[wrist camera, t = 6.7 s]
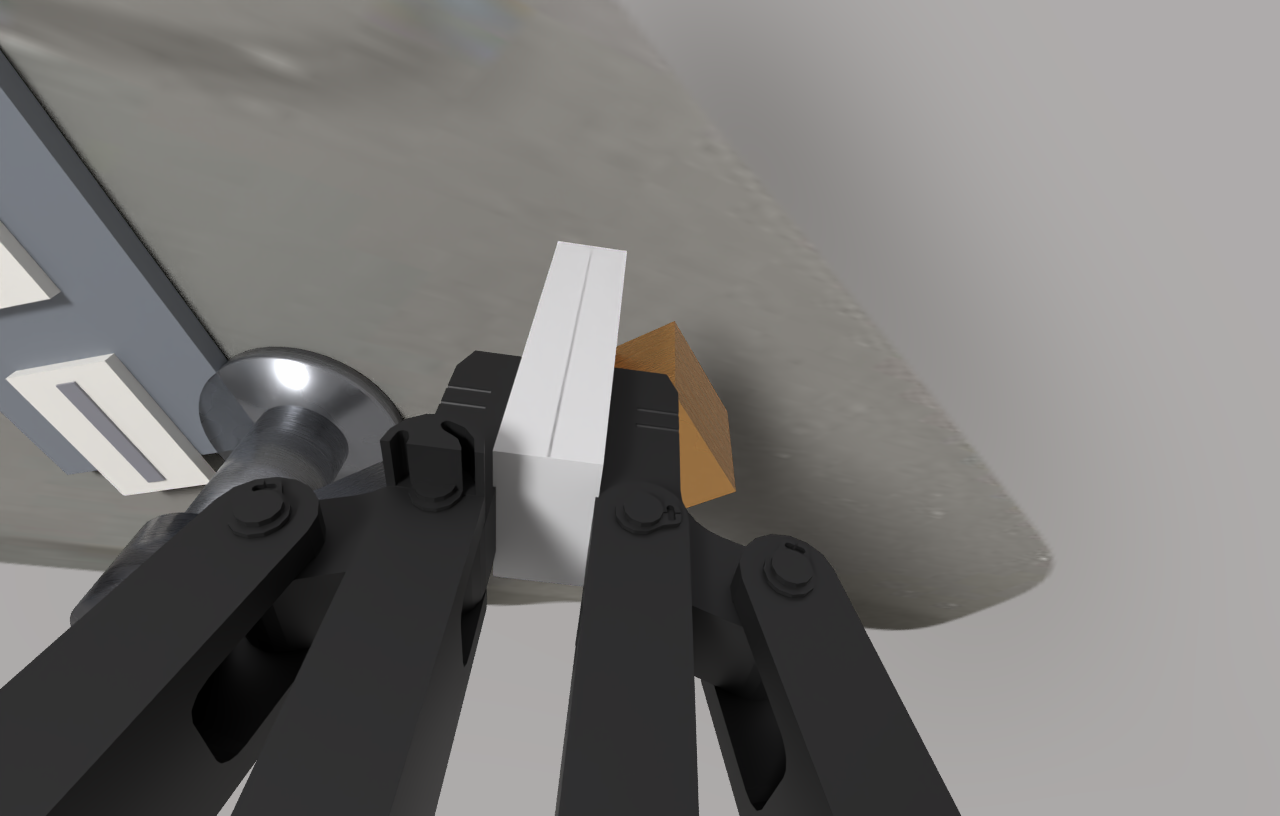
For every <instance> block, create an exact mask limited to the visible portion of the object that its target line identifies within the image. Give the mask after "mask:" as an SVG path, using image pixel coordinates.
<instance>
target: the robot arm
mask: <svg viewBox="0 0 1280 816" xmlns="http://www.w3.org/2000/svg"><path fill="white" fill-rule="evenodd" d="M626 255H627V251H623V250H616V249H609V248H602V247H595V246H589V245H582V244H575V243H568V242H561V241H558V243H557V247H556V250H555V253H554V256H553V259H552V263H551V266H550V269H549V272H548V275H547V279H546V282H545V285H544V288H543V291H542V295H541V298H540V301H539V304H538V307H537V311H536V314H535V317H534V320H533V323H532V327H531V330H530V333H529V336H528V339H527V343H526V346H525V349H524V352H523V355H522V357H520V356H512V355H505V354H497V353H490V352H482V351H474V352H473V353H472V354H471V355H469V356H468V357H467V358H466V359H464V360H463V361H462V362H460V363H459V364H458V365H457V366H456V368H455V370H454V373H453V375H452V377H451V379H450V382H449V384H448V388H446V391H445V393H444V395H443V397H442V400H441V404H439V406H438V409H437V411H436V413H435V414H424V415H420V416H416V417H412V418H408V419H405V420H404V421H402V422H400V423H398V424H396V425H395V426H393V427H391V428H390V429H389V430H388V431H387V432H386V433H385V435H384V436H383V437H382V438H381V439H380V446H381V452H382V459H383V466H384V472H385V479H386V487H383V488H381V489H378V490H376V491H373V492H369V493H364V494H360V495H354V496H346V497H338V498H330V499H322V500H319V499H318V498H317V496H316V495H315V493H314V491H313V490H312V488H311V487H309V486H307V485H306V484H304V483H302V482H300V481H298V480H295V479H289V478H282V477H271V478H263V479H255V480H252V481H249V482H247V483H244V484H241V485H238V486H235V487H233V488H232V489H230V490H229V491H227V492H226V493H224V494H223V495H221V496H220V497H218V498H217V499H215V500H214V501H213V502H212V503H211V504H209V505H208V506H207V507H206V508H205V509H204V510H203V511H201V512H200V513H199V514H198V515H197V516H196V517H195V518H194V519H192V520H191V521H190V522H189V523H188V524H187V525H186V526H185V527H183V528H182V529H181V530H180V531H179V532H178V533H177V534H175V535H174V536H173V537H172V538H171V539H170V540H169V541H168V542H166V543H165V544H164V545H163V546H162V547H161V548H160V549H158V550H157V551H156V552H155V553H154V554H153V555H152V556H151V557H149V558H148V559H147V560H146V561H145V562H144V563H143V564H142V565H140V566H139V567H138V568H137V569H136V570H135V571H134V572H132V573H131V574H130V575H129V576H128V577H127V578H126V579H125V580H123V581H122V582H121V583H120V584H119V585H118V586H117V587H115V588H114V589H113V590H112V591H111V592H110V593H109V594H108V595H106V596H105V597H104V598H103V599H102V600H101V601H100V602H99V603H97V604H96V605H95V606H94V607H93V608H92V609H91V610H89V611H88V612H87V613H86V614H85V615H84V616H83V617H82V618H80V619H79V620H78V621H77V622H76V623H75V624H74V625H72V626H71V627H70V628H69V629H68V630H67V631H66V632H65V633H63V634H62V635H61V636H60V637H59V638H58V639H57V640H55V641H54V642H53V643H52V644H51V645H50V646H49V647H48V648H46V649H45V650H44V651H43V652H42V653H41V654H40V655H39V656H37V657H36V658H35V659H34V660H33V661H32V662H31V663H29V664H28V665H27V666H26V667H25V668H24V669H23V670H22V671H20V672H19V673H18V674H17V675H16V676H15V677H14V678H12V679H11V680H10V681H9V682H8V683H7V684H6V685H5V686H3V687H2V688H1V689H0V816H217V814H218V813H219V811H220V810H221V809H222V807H223V806H224V804H225V803H226V802H227V800H228V799H229V798H230V796H231V795H232V793H233V792H234V791H235V789H236V788H237V787H238V785H239V784H240V782H241V781H242V780H243V778H244V777H245V775H246V774H247V773H248V771H249V770H250V769H251V767H252V766H253V765H254V763H255V762H256V763H255V765H254V768H253V770H252V772H251V774H250V776H249V778H248V780H247V783H246V784H245V787H244V789H243V791H242V793H241V795H240V797H239V799H238V801H237V804H236V806H235V808H234V810H233V812H232V814H231V816H435V812H436V808H437V804H438V799H439V796H440V792H441V788H442V784H443V779H444V776H445V772H446V768H447V764H448V760H449V756H450V752H451V748H452V744H453V740H454V736H455V732H456V728H457V724H458V720H459V716H460V712H461V708H462V704H463V700H464V696H465V692H466V688H467V684H468V680H469V676H470V672H471V668H472V664H473V660H474V656H475V652H476V648H477V644H478V640H479V636H480V632H481V628H482V624H483V620H484V616H485V612H486V605H487V584H488V580H489V576H490V572H491V568H492V564H493V576H495V577H503V578H512V579H521V580H530V581H539V582H548V583H557V584H565V585H574V586H583V593H582V602H581V609H580V616H579V623H578V630H577V637H576V644H575V645H576V648H575V656H574V665H573V673H572V680H571V690H570V697H569V705H568V713H567V722H566V730H565V738H564V746H563V754H562V762H561V770H560V778H559V786H558V795H557V803H556V811H555V816H699V806H698V805H699V804H698V775H697V774H698V773H697V746H696V745H697V744H696V715H695V686H694V676H696V677H697V678H700V679H701V682H702V686H703V689H704V693H705V696H706V700H707V703H708V707H709V710H710V714H711V717H712V721H713V724H714V728H715V731H716V734H717V738H718V742H719V745H720V749H721V752H722V756H723V759H724V763H725V766H726V770H727V773H728V777H729V780H730V783H731V787H732V791H733V794H734V797H735V801H736V805H737V808H738V812H739V815H740V816H961V815H960V813H959V811H958V809H957V807H956V805H955V803H954V801H953V799H952V797H951V795H950V793H949V791H948V790H947V787H946V786H945V784H944V782H943V780H942V778H941V776H940V774H939V772H938V771H937V768H936V766H935V764H934V762H933V760H932V758H931V756H930V755H929V753H928V751H927V749H926V747H925V745H924V743H923V741H922V739H921V737H920V735H919V733H918V732H917V729H916V728H915V726H914V724H913V722H912V720H911V718H910V716H909V714H908V712H907V710H906V708H905V706H904V704H903V702H902V701H901V699H900V697H899V695H898V693H897V691H896V689H895V687H894V685H893V683H892V681H891V679H890V677H889V675H888V674H887V672H886V670H885V668H884V666H883V664H882V662H881V660H880V658H879V656H878V654H877V652H876V650H875V648H874V647H873V644H872V642H871V641H870V639H869V637H868V635H867V633H866V631H865V629H864V627H863V625H862V623H861V621H860V619H859V617H858V615H857V614H856V612H855V610H854V608H853V606H852V604H851V602H850V600H849V598H848V596H847V594H846V592H845V590H844V588H843V586H842V585H841V583H840V581H839V579H838V577H837V575H836V573H835V571H834V569H833V568H832V567H831V565H830V564H829V563H828V561H827V560H826V559H825V557H824V556H823V555H822V554H821V553H820V552H818V551H817V550H816V549H814V548H813V547H812V546H810V545H809V544H808V543H806V542H803V541H801V540H798V539H796V538H793V537H791V536H785V535H773V534H770V535H767V536H763V537H759V538H755V539H754V540H753V541H752V542H751V543H749V544H748V545H747V546H746V547H745V546H742V545H740V544H737V543H735V542H732V541H730V540H727V539H725V538H722V537H720V536H718V535H716V534H714V533H712V532H710V531H708V530H707V529H705V528H704V527H703V526H701V525H700V524H699V523H697V522H696V521H695V520H694V518H693V517H692V516H691V515H690V514H689V513H688V511H687V509H686V507H685V505H684V503H683V501H682V496H681V482H680V440H679V416H678V415H679V398H678V392H677V390H676V388H675V387H674V385H673V384H672V382H671V380H670V379H669V377H668V375H667V374H660V373H653V372H645V371H638V370H630V369H623V368H615V367H614V364H615V355H616V346H617V337H618V328H619V319H620V310H621V301H622V292H623V283H624V274H625V265H626ZM256 760H257V761H256Z"/></svg>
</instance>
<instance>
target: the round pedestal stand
mask: <svg viewBox="0 0 1280 816" xmlns="http://www.w3.org/2000/svg"><path fill="white" fill-rule="evenodd" d="M216 373H217V374H218V375H217V374H215V375H214V376H215V377H214V376H212V377H211V378H210V379H209V380H208V381H207V382H206V384H205V385H206V386H208V384H209V386H210V384H211V382H212V383H213V382H216V380H217V383H218V382H220V383H218V384H219V387H221V388H220V390H221V391H222V390H223V389H222V386H221V385H223V387H225V388H224V390H226V391H227V392H226V391H224V390H223V391H224V392H223V391H222V392H221V391H220V392H219V391H218V392H219V393H221V395H222V394H223V393H226V394H225V395H228V393H229V392H230V395H231V393H232V396H233V397H232V396H231V397H232V398H231V399H233V398H234V403H233V404H235V403H237V402H238V404H239V403H240V405H241V406H240V405H238V404H237V405H238V406H237V405H236V404H235V406H233V404H232V402H233V401H231V400H230V398H229V396H230V395H228V398H229V400H228V401H226V400H223V399H222V398H221V397H219V398H217V400H216V397H212V398H211V397H210V396H209V395H211V394H213V395H214V393H217V394H218V392H217V391H216V392H213V390H218V389H219V387H218V389H215V387H214V389H213V390H212V389H211V390H210V388H211V387H210V388H209V387H206V386H205V385H204V387H203V389H202V391H203V390H204V388H205V387H206V388H207V390H206V389H205V390H204V391H206V392H207V391H208V392H207V393H206V392H204V393H203V392H202V393H203V394H208V396H209V397H208V396H207V395H206V396H207V399H209V400H210V401H209V403H210V402H211V401H212V404H211V403H210V404H209V403H207V404H208V405H210V406H212V407H211V408H216V407H214V406H213V405H215V404H216V405H217V406H218V407H219V405H220V404H222V405H224V408H225V404H226V409H227V410H228V407H229V406H228V405H229V404H230V403H231V404H232V406H231V408H232V407H233V408H232V409H233V410H232V414H233V413H234V412H233V411H234V409H235V408H234V407H237V409H238V407H239V406H240V407H241V408H243V410H242V411H241V412H243V411H244V410H245V413H244V412H243V413H244V415H242V416H243V417H244V418H246V417H245V414H246V413H247V414H246V415H248V417H249V418H247V419H252V421H253V422H254V423H255V424H254V425H253V426H252V425H251V427H252V428H250V430H249V428H247V429H246V430H249V431H248V432H247V434H246V435H244V438H243V439H242V437H241V436H242V435H241V434H237V433H236V432H235V431H234V430H232V429H231V428H230V429H231V430H232V431H234V433H235V435H236V434H237V435H238V436H240V437H241V438H239V439H242V440H241V441H240V442H239V440H236V442H237V441H238V442H239V443H238V444H236V446H237V447H236V448H235V449H234V450H233V449H231V448H234V447H235V446H234V445H235V444H234V443H233V444H234V445H233V444H231V443H229V442H230V441H229V442H228V441H227V440H228V439H230V440H231V439H232V438H231V437H229V435H228V436H227V435H226V432H225V431H224V430H226V429H225V427H224V423H223V422H226V421H227V420H225V419H224V418H223V417H222V418H221V417H220V415H219V414H218V415H219V417H220V419H223V420H225V421H222V420H221V421H219V422H220V423H222V425H223V426H221V425H220V424H219V425H220V428H221V427H222V428H223V427H224V428H223V431H224V432H225V434H224V436H227V438H226V437H225V438H226V441H227V444H228V443H229V444H228V445H227V447H228V446H229V445H230V444H231V445H233V446H234V447H233V446H232V447H230V446H229V448H228V449H229V451H228V450H227V449H226V448H227V447H226V443H224V440H223V441H222V440H221V439H225V438H224V437H222V436H223V435H220V436H221V437H222V438H221V439H218V438H217V437H218V436H219V435H217V434H218V432H217V430H218V431H221V430H220V429H217V430H216V432H217V433H216V434H214V435H213V433H215V432H214V431H215V429H216V427H215V425H218V424H215V425H214V423H213V421H218V420H217V419H218V418H217V417H218V416H217V415H216V414H217V413H216V412H215V411H216V410H215V409H214V410H215V411H214V410H212V409H211V412H212V411H213V412H214V414H215V416H217V417H216V420H213V417H212V418H211V417H209V416H210V415H208V414H207V413H208V412H209V414H212V413H213V412H212V413H210V410H209V411H208V412H206V411H207V409H205V410H204V409H202V408H204V406H205V405H206V404H205V403H206V402H208V401H207V400H206V401H205V403H203V406H202V405H201V404H202V402H203V401H202V400H201V399H203V397H201V394H202V393H201V394H200V397H201V398H200V399H199V401H200V400H201V401H202V402H201V401H200V402H201V404H200V402H199V404H200V405H201V407H200V406H199V411H200V410H201V411H200V412H202V411H204V412H203V413H199V417H200V421H201V425H202V426H203V429H205V428H207V429H205V430H204V432H205V433H206V432H208V431H210V427H212V429H211V431H210V432H212V433H210V432H208V433H206V436H207V435H208V436H207V438H208V437H209V438H208V439H209V441H210V440H211V441H210V443H211V442H213V441H214V444H213V443H212V445H213V447H214V448H215V450H216V451H220V449H222V446H221V447H220V449H219V446H220V445H221V443H222V445H223V443H224V445H225V447H226V448H225V447H223V448H225V452H224V449H223V450H221V451H220V452H218V454H219V455H220V456H221V457H222V458H223V459H224V460H225V462H224V463H223V465H222V466H221V467H220V468H219V470H218V471H217V472H216V473H215V475H214V476H213V477H212V479H211V480H210V481H209V482H208V484H207V485H206V486H205V487H204V489H203V490H202V491H201V493H200V494H199V495H198V496H197V498H196V499H195V500H194V501H193V503H192V504H191V505H190V507H189V508H188V509H187V510H186V512H185V513H198V514H199V513H200V512H201V511H203V510H204V509H205V508H206V507H207V506H208V505H209V504H211V503H212V502H213V501H214V500H215V499H217V498H218V497H220V496H221V495H223V494H224V493H226V492H227V491H229V490H230V489H232V488H233V487H235V486H238V485H241V484H244V483H247V482H249V481H252V480H255V479H263V478H271V477H282V478H289V479H295V480H298V481H300V482H302V483H304V484H306V485H307V486H309V487H311V488H312V490H313V491H314V490H316V489H319V488H321V487H323V486H326V485H328V484H330V483H333V482H335V481H337V480H340V479H342V478H344V477H346V476H349V475H351V474H353V473H356V472H358V471H360V470H363V469H365V468H367V467H370V466H372V465H374V464H376V463H379V462H381V461H383V459H382V452H381V446H380V439H381V438H382V437H383V436H384V435H385V433H386V432H387V431H388V430H389V429H390V428H391V427H393V426H395V425H396V424H398V423H400V422H402V421H403V419H402V417H401V415H400V413H399V412H398V410H397V409H396V407H395V406H394V404H393V403H392V402H391V401H390V399H389V398H388V397H387V396H386V395H385V394H384V393H383V392H382V391H381V390H380V389H379V388H378V387H377V386H376V385H375V384H373V383H372V382H371V381H370V380H368V379H367V378H366V377H365V376H363V375H361V374H360V373H358V372H357V371H355V370H354V369H352V368H350V367H348V366H346V365H345V364H343V363H341V362H339V361H336V360H334V359H332V358H329V357H327V356H324V355H321V354H318V353H314V352H311V351H306V350H302V349H297V348H288V347H264V348H256V349H252V350H248V351H245V352H243V353H240V354H238V355H235V356H234V357H232V358H231V359H229V360H228V361H227V362H226V363H225V364H224V365H223V366H222V367H221V368H220V369H219V370H218V371H217V372H216ZM216 376H217V377H218V376H219V377H218V378H220V379H221V380H220V379H217V378H216ZM213 377H214V378H213ZM211 379H215V381H214V380H212V381H211ZM218 380H219V381H218ZM210 381H211V382H210ZM209 382H210V383H209ZM222 382H223V383H224V384H223V383H222ZM215 384H216V383H214V385H215ZM218 384H216V385H217V386H218ZM211 385H212V388H213V384H211ZM217 386H216V388H217ZM226 386H227V388H228V389H226ZM229 390H230V391H229ZM209 391H211V393H209ZM228 391H229V392H228ZM203 394H202V395H203ZM213 395H211V396H213ZM215 395H216V394H215ZM215 395H214V396H215ZM203 396H205V395H203ZM206 396H205V397H206ZM216 396H217V395H216ZM219 396H220V394H219ZM223 396H224V394H223V395H222V397H223ZM210 398H211V399H210ZM223 398H225V399H226V397H225V396H224V397H223ZM228 398H227V399H228ZM205 399H206V398H205ZM212 399H215V400H214V401H213V400H212ZM219 399H222V400H223V401H222V400H221V401H222V402H224V403H225V404H224V403H222V402H221V401H220V400H219ZM235 399H236V401H235ZM215 401H216V402H217V401H219V402H220V404H219V405H218V403H219V402H218V403H216V402H215ZM213 402H215V404H214V403H213ZM227 402H229V404H228V403H227ZM204 404H205V405H204ZM231 404H230V405H231ZM208 405H207V406H208ZM216 405H215V406H216ZM227 406H228V407H227ZM218 407H217V408H218ZM208 408H210V407H208ZM217 408H216V409H217ZM219 408H221V412H219V413H221V414H222V416H224V417H225V418H228V417H229V416H230V415H231V414H229V413H230V411H229V410H230V409H231V408H230V409H229V410H228V411H229V413H228V412H227V411H226V412H227V413H226V412H224V410H223V409H222V407H221V405H220V407H219ZM241 408H239V410H241ZM226 409H225V410H226ZM222 410H223V413H226V414H227V416H228V415H229V416H228V417H226V416H225V414H224V415H223V413H222ZM235 410H236V409H235ZM217 411H220V409H218V410H217ZM205 412H206V413H205ZM236 412H237V413H238V414H237V413H236V415H235V413H234V416H235V417H234V416H233V415H232V416H231V417H233V418H231V417H230V418H228V420H229V419H232V420H233V419H236V420H237V418H238V417H236V416H240V415H241V414H240V413H239V411H237V410H236ZM204 414H207V415H208V418H209V420H210V419H212V420H213V421H212V420H211V421H210V426H209V425H208V422H207V421H206V420H208V418H207V415H204ZM239 414H240V415H239ZM201 415H202V416H201ZM203 416H204V418H205V417H206V418H207V419H206V418H205V420H204V419H202V418H203ZM211 416H214V415H211ZM215 416H214V417H215ZM214 419H215V418H214ZM239 419H240V420H241V419H242V418H241V417H239V418H238V420H239ZM203 420H204V421H203ZM209 420H208V421H209ZM232 420H230V423H231V422H236V423H240V425H241V424H242V423H245V424H246V425H247V423H248V422H246V421H249V423H252V424H253V422H250V421H251V420H246V419H244V420H246V421H244V420H243V419H242V421H244V422H242V421H240V422H239V421H238V420H237V421H235V420H234V421H232ZM202 422H203V423H202ZM205 422H206V423H207V424H206V423H205ZM227 422H228V423H229V421H227ZM241 422H242V423H241ZM204 423H205V424H204ZM236 423H234V424H236ZM249 423H248V425H247V427H248V426H249V427H250V425H249ZM226 424H227V423H226ZM226 424H225V426H226ZM232 424H233V423H232ZM232 424H230V425H231V426H229V427H232V426H233V429H235V430H237V429H239V427H240V426H238V425H237V424H236V425H237V426H238V428H234V424H233V425H232ZM207 425H208V426H207ZM212 425H214V427H213V426H212ZM219 425H218V428H219ZM227 425H228V424H227ZM242 425H243V424H242ZM242 425H241V426H242ZM246 425H245V426H244V425H243V426H242V427H246ZM237 426H235V427H237ZM229 427H227V426H226V428H228V429H229ZM213 428H215V429H213ZM230 429H229V430H230ZM240 429H241V430H244V433H246V431H245V429H243V428H240ZM231 430H230V432H231ZM223 431H221V433H220V432H219V433H220V434H222V432H223ZM226 431H227V430H226ZM237 431H238V430H237ZM230 432H229V431H228V432H227V433H229V434H230ZM238 432H239V433H242V432H241V431H238ZM232 433H233V432H232ZM244 433H242V434H244ZM209 434H210V435H212V436H210V435H209ZM235 435H234V436H235ZM214 436H217V437H215V438H214ZM230 436H233V435H232V434H230ZM212 437H213V438H214V439H213V438H212ZM228 437H229V438H228ZM236 437H237V436H236ZM236 437H233V439H235V438H236ZM210 438H211V439H210ZM219 438H220V437H219ZM215 439H218V440H219V441H218V442H220V441H221V443H219V446H218V449H217V444H218V443H216V444H215V442H216V441H217V440H215ZM233 439H232V440H233ZM236 439H238V438H236ZM232 440H231V442H234V440H233V441H232ZM215 445H216V446H215ZM230 450H231V451H230ZM222 451H223V452H222Z"/></svg>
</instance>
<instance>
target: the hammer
mask: <svg viewBox="0 0 1280 816" xmlns="http://www.w3.org/2000/svg"><path fill="white" fill-rule="evenodd" d="M614 367H615V368H623V369H630V370H638V371H645V372H653V373H660V374H667V375H668V377H669V379H670V380H671V382H672V384H673V385H674V387H675V388H676V390H677V392H678V398H679V415H678V416H679V440H680V482H681V496H682V501H683V503H684V505H685V507H686V508H688V507H691V506H694V505H697V504H700V503H703V502H706V501H709V500H712V499H715V498H718V497H721V496H724V495H727V494H730V493H733V492H736V487H735V478H734V469H733V460H732V451H731V442H730V432H729V423H728V414H727V411H726V409H725V407H724V405H723V404H722V402H721V400H720V398H719V397H718V395H717V393H716V392H715V390H714V388H713V386H712V385H711V383H710V381H709V380H708V378H707V376H706V374H705V373H704V371H703V369H702V367H701V366H700V364H699V362H698V361H697V359H696V357H695V355H694V354H693V352H692V350H691V349H690V347H689V345H688V343H687V342H686V340H685V338H684V336H683V335H682V333H681V331H680V330H679V328H678V326H677V324H676V323H675V321H674V322H672V323H669V324H667V325H665V326H663V327H660V328H658V329H656V330H654V331H651V332H649V333H647V334H644V335H642V336H640V337H638V338H635V339H633V340H631V341H629V342H626V343H624V344H622V345H620V346H617V347H616V355H615V364H614ZM383 487H386V479H385V472H384V466H383V461H381V462H379V463H376V464H374V465H372V466H370V467H367V468H365V469H363V470H360V471H358V472H356V473H353V474H351V475H349V476H346V477H344V478H342V479H340V480H337V481H335V482H333V483H330V484H328V485H326V486H323V487H321V488H319V489H316V490H314V493H315V495H316V496H317V498H318V499H319V500H322V499H330V498H338V497H346V496H354V495H360V494H364V493H369V492H373V491H376V490H378V489H381V488H383ZM197 515H198V513H171V514H166V515H161V516H158V517H156V518H153V519H152V520H150V521H148V522H147V523H146V524H145V525H144V526H143V527H142V528H141V529H140V530H139V531H138V533H137V534H136V535H135V536H134V537H133V539H132V540H131V541H130V542H129V543H128V545H127V546H126V547H125V548H124V549H123V551H122V552H121V553H120V554H119V555H118V557H117V558H116V559H115V560H114V561H113V563H112V564H111V565H110V566H109V567H108V569H107V570H106V571H105V572H104V573H103V575H102V576H101V577H100V578H99V580H98V581H97V582H96V583H95V584H94V585H93V587H92V588H91V589H90V590H89V591H88V593H87V594H86V595H85V596H84V597H83V599H82V600H81V601H80V602H79V604H78V605H77V606H76V607H75V608H74V610H73V611H72V613H71V616H70V624H71V626H72V625H74V624H75V623H76V622H77V621H78V620H79V619H80V618H82V617H83V616H84V615H85V614H86V613H87V612H88V611H89V610H91V609H92V608H93V607H94V606H95V605H96V604H97V603H99V602H100V601H101V600H102V599H103V598H104V597H105V596H106V595H108V594H109V593H110V592H111V591H112V590H113V589H114V588H115V587H117V586H118V585H119V584H120V583H121V582H122V581H123V580H125V579H126V578H127V577H128V576H129V575H130V574H131V573H132V572H134V571H135V570H136V569H137V568H138V567H139V566H140V565H142V564H143V563H144V562H145V561H146V560H147V559H148V558H149V557H151V556H152V555H153V554H154V553H155V552H156V551H157V550H158V549H160V548H161V547H162V546H163V545H164V544H165V543H166V542H168V541H169V540H170V539H171V538H172V537H173V536H174V535H175V534H177V533H178V532H179V531H180V530H181V529H182V528H183V527H185V526H186V525H187V524H188V523H189V522H190V521H191V520H192V519H194V518H195V517H196V516H197Z"/></svg>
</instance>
